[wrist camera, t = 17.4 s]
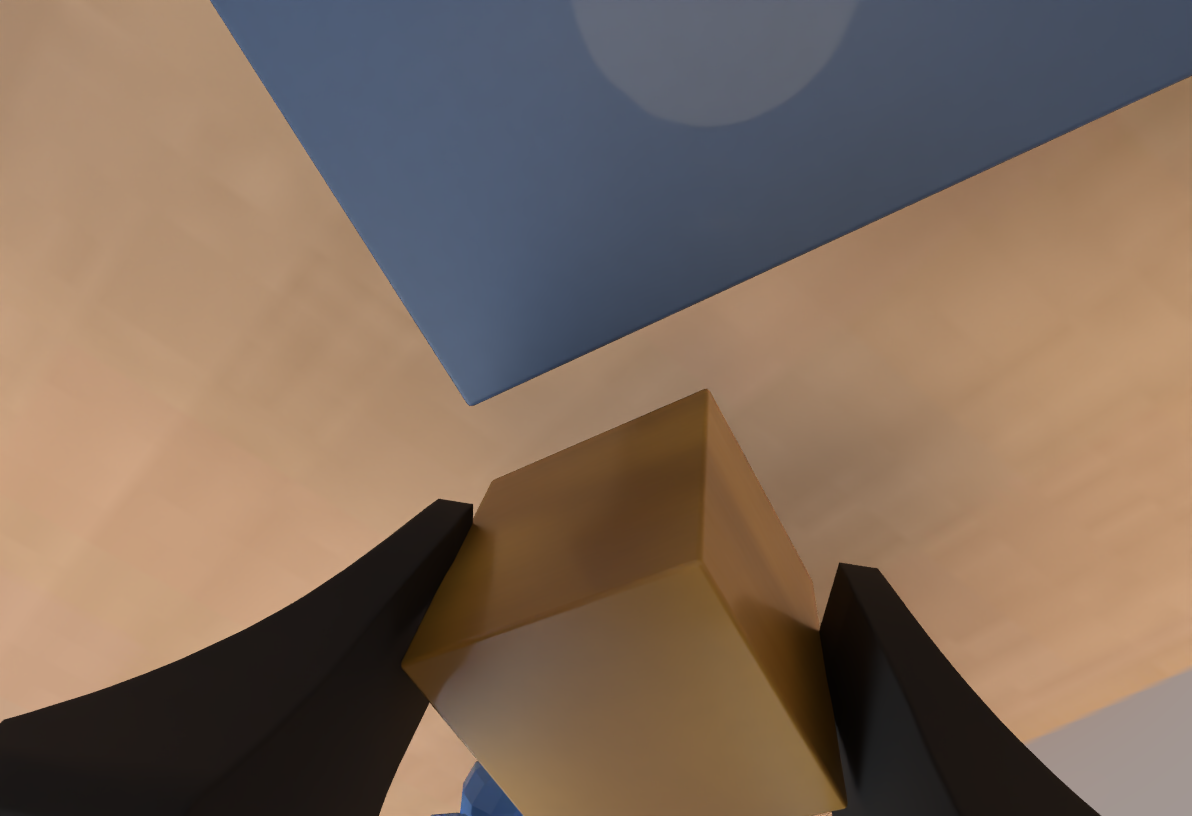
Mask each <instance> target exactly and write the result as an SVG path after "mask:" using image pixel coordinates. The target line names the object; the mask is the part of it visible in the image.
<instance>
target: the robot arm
mask: <svg viewBox="0 0 1192 816" xmlns="http://www.w3.org/2000/svg"><path fill="white" fill-rule="evenodd" d="M472 524H473V504H468V503H462V502H456V501H449V500H443V499H438V500H436V501H435V502H433V503H432V504H431V505H429V506H428V507H427V508H425V509H424V510H423V511H421V512H420V513H419V514H418V515H416V516H415V517H414V518H412V519H411V520H410V521H409V522H407V523H406V524H405V525H404V526H402V527H401V528H400V529H398V530H397V531H396V532H394V533H393V534H392V535H391V536H389V537H388V538H387V539H385V540H384V541H383V542H381V543H380V544H379V545H377V546H376V547H375V548H373V549H372V550H371V551H369V552H368V553H367V554H365V555H364V556H362V557H361V558H360V559H358V560H357V561H356V562H354V563H353V564H352V565H350V566H349V567H347V568H346V569H344V570H343V571H342V572H340V573H339V574H337V575H336V576H334V577H333V578H331V579H330V580H328V581H327V582H325V583H324V584H322V585H320V586H319V587H317V588H316V589H314V590H313V591H311V592H310V593H308V594H307V595H305V596H304V597H302V598H300V599H299V600H297V601H295V602H294V603H292V604H290V605H289V606H287V607H285V608H283V609H282V610H280V611H278V612H276V613H274V614H273V615H271V616H269V617H267V618H265V619H263V620H262V621H260V622H258V623H256V624H254V625H252V626H250V627H248V628H247V629H245V630H243V631H241V632H239V633H236V634H234V635H232V636H230V637H228V638H226V639H224V640H221V641H219V642H217V643H215V644H213V645H211V646H208V647H206V648H204V649H202V650H200V651H198V652H196V653H193V654H191V655H189V656H187V657H185V658H182V659H180V660H178V661H175V662H173V663H171V664H168V665H166V666H163V667H161V668H158V669H156V670H153V671H151V672H148V673H146V674H143V675H140V676H138V677H135V678H132V679H130V680H127V681H124V682H121V683H119V684H116V685H113V686H111V687H108V688H105V689H102V690H99V691H96V692H93V693H90V694H87V695H84V696H81V697H78V698H74V699H71V700H68V701H65V702H62V703H58V704H55V705H52V706H49V707H45V708H42V709H39V710H36V711H33V712H29V713H26V714H23V715H19V716H16V717H12V718H9V719H5V720H3V721H2V722H1V723H0V816H379V813H380V811H381V808H382V805H383V803H384V800H385V797H386V794H387V792H388V790H389V787H390V785H391V783H392V780H393V778H394V776H395V773H396V771H397V769H398V766H399V764H400V762H401V760H402V758H403V756H404V754H405V752H406V750H407V748H408V746H409V744H410V742H411V740H412V737H413V735H414V733H415V731H416V729H417V727H418V725H419V723H420V721H421V719H422V717H423V715H424V713H425V711H426V709H427V707H428V704H429V701H428V700H427V698H426V697H425V696H424V695H423V694H422V692H421V691H420V690H419V689H418V688H417V686H416V685H415V684H414V683H413V681H412V680H411V679H410V678H409V677H408V675H407V674H406V673H405V672H404V671H403V669H402V668H401V661H402V659H403V657H404V655H405V653H406V651H407V649H408V647H409V645H410V643H411V641H412V639H413V637H414V635H415V633H416V631H417V629H418V627H419V625H420V623H421V621H422V620H423V618H424V616H425V614H426V612H427V610H428V608H429V606H430V604H431V602H432V600H433V598H434V596H435V594H436V592H437V590H438V588H439V586H440V584H441V583H442V581H443V579H444V577H445V575H446V574H447V572H448V570H449V569H450V567H451V565H452V564H453V562H454V560H455V558H456V556H457V554H458V552H459V550H460V548H461V546H462V544H463V542H464V540H465V538H466V536H467V534H468V532H469V530H470V528H471V526H472ZM819 634H820V640H821V646H822V653H823V659H824V665H825V672H826V678H827V683H828V687H829V692H830V697H831V702H832V707H833V713H834V719H835V726H836V732H837V738H838V744H839V751H840V757H841V763H842V769H843V776H844V782H845V788H846V795H847V801H848V804H847V807H846V808H845V809H841V810H837V811H832V816H1100V815H1099V814H1098V813H1097V812H1096V811H1095V810H1094V809H1093V808H1091V807H1090V806H1089V805H1088V804H1087V803H1086V802H1084V801H1083V800H1082V799H1081V798H1080V797H1079V796H1078V795H1076V794H1075V793H1074V792H1073V791H1072V790H1071V789H1070V788H1069V787H1067V786H1066V785H1065V784H1064V783H1063V782H1062V781H1061V780H1060V779H1059V778H1058V777H1057V776H1056V775H1054V774H1053V773H1052V772H1051V771H1050V770H1049V769H1048V768H1047V767H1046V766H1045V765H1044V764H1043V763H1042V762H1041V761H1040V760H1039V759H1038V758H1037V757H1036V756H1035V755H1034V754H1033V753H1032V752H1031V751H1030V750H1029V749H1028V748H1027V747H1026V746H1025V745H1024V744H1023V743H1022V742H1021V741H1020V740H1019V739H1018V738H1017V737H1016V736H1015V735H1014V734H1013V733H1012V732H1011V731H1010V730H1009V729H1008V728H1007V727H1006V726H1005V725H1004V724H1003V723H1002V722H1001V721H1000V720H999V718H998V717H997V716H996V715H995V714H994V713H993V712H992V711H991V710H990V708H989V707H988V706H987V705H986V704H985V703H984V702H983V701H982V700H981V698H980V697H979V696H978V695H977V694H976V693H975V692H974V691H973V690H972V688H971V687H970V686H969V685H968V684H967V683H966V681H965V680H964V679H963V678H962V677H961V675H960V674H959V673H958V672H957V671H956V670H955V668H954V667H953V666H952V665H951V663H950V662H949V661H948V660H947V659H946V657H945V656H944V655H943V654H942V652H941V651H940V650H939V649H938V647H937V646H936V645H935V644H934V642H933V641H932V640H931V638H930V637H929V636H928V635H927V633H926V632H925V631H924V629H923V628H922V627H921V626H920V624H919V623H918V622H917V620H916V619H915V618H914V616H913V615H912V614H911V612H910V611H909V610H908V608H907V607H906V606H905V604H904V603H903V602H902V600H901V599H900V597H899V596H898V595H897V593H896V592H895V591H894V589H893V588H892V587H891V585H890V584H889V583H888V581H887V580H886V579H885V577H884V576H883V575H882V573H881V572H880V571H879V569H877V568H871V567H865V566H858V565H852V564H846V563H839V565H838V569H837V572H836V576H835V579H834V582H833V586H832V589H831V592H830V596H829V599H828V603H827V606H826V609H825V613H824V616H823V620H822V623H821V626H820V630H819Z"/></svg>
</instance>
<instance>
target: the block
mask: <svg viewBox="0 0 1192 816" xmlns="http://www.w3.org/2000/svg"><path fill="white" fill-rule="evenodd" d="M819 630H820V625H819V619H818V613H817V607H816V600H815V594H814V588H813V582H812V579H811V577H810V576H809V574H808V572H807V570H806V568H805V566H804V564H803V563H802V561H801V559H800V557H799V555H798V553H797V551H796V550H795V548H794V546H793V544H792V542H791V540H790V539H789V537H788V535H787V533H786V531H785V529H784V527H783V526H782V524H781V522H780V520H779V518H778V516H777V514H776V513H775V511H774V509H773V507H772V505H771V503H770V502H769V500H768V498H767V496H766V494H765V492H764V490H763V489H762V487H761V485H760V483H759V481H758V479H757V477H756V476H755V474H754V472H753V470H752V468H751V466H750V464H749V463H748V461H747V459H746V457H745V455H744V453H743V452H742V450H741V448H740V446H739V444H738V442H737V440H736V439H735V437H734V435H733V433H732V431H731V429H730V427H729V426H728V424H727V422H726V420H725V418H724V416H723V415H722V413H721V411H720V409H719V407H718V405H717V403H716V402H715V400H714V398H713V396H712V394H711V392H710V391H709V390H708V389H704V390H701V391H699V392H697V393H694V394H692V395H690V396H687V397H685V398H683V399H680V400H678V401H676V402H673V403H671V404H669V405H666V406H664V407H662V408H659V409H657V410H655V411H653V412H650V413H648V414H646V415H643V416H641V417H639V418H636V419H634V420H632V421H629V422H627V423H625V424H622V425H620V426H618V427H615V428H613V429H611V430H608V431H606V432H604V433H601V434H599V435H597V436H595V437H592V438H590V439H588V440H585V441H583V442H581V443H578V444H576V445H574V446H571V447H569V448H567V449H564V450H562V451H560V452H557V453H555V454H553V455H550V456H548V457H546V458H543V459H541V460H539V461H537V462H534V463H532V464H530V465H527V466H525V467H523V468H520V469H518V470H516V471H513V472H511V473H509V474H506V475H504V476H502V477H499V478H497V479H495V480H493V481H492V482H491V484H490V486H489V488H488V490H487V492H486V494H485V496H484V498H483V500H482V502H481V504H480V506H479V508H478V510H477V512H476V514H475V516H474V518H473V524H472V526H471V528H470V530H469V532H468V534H467V536H466V538H465V540H464V542H463V544H462V546H461V548H460V550H459V552H458V554H457V556H456V558H455V560H454V562H453V564H452V565H451V567H450V569H449V570H448V572H447V574H446V575H445V577H444V579H443V581H442V583H441V584H440V586H439V588H438V590H437V592H436V594H435V596H434V598H433V600H432V602H431V604H430V606H429V608H428V610H427V612H426V614H425V616H424V618H423V620H422V621H421V623H420V625H419V627H418V629H417V631H416V633H415V635H414V637H413V639H412V641H411V643H410V645H409V647H408V649H407V651H406V653H405V655H404V657H403V659H402V661H401V668H402V669H403V671H404V672H405V673H406V674H407V675H408V677H409V678H410V679H411V680H412V681H413V683H414V684H415V685H416V686H417V688H418V689H419V690H420V691H421V692H422V694H423V695H424V696H425V697H426V698H427V700H428V701H429V702H430V703H431V704H432V706H433V707H434V708H435V709H436V711H437V712H438V713H439V714H440V715H441V717H442V718H443V719H444V720H445V721H446V723H447V724H448V725H449V726H450V727H451V729H452V730H453V731H454V732H455V734H456V735H457V736H458V737H459V738H460V740H461V741H462V742H463V743H464V744H465V746H466V747H467V748H468V749H469V751H470V752H471V753H472V754H473V755H474V757H475V758H476V759H477V760H478V761H479V763H480V764H481V765H482V766H483V767H484V769H485V770H486V771H487V772H488V774H489V775H490V776H491V777H492V778H493V780H494V781H495V782H496V783H497V784H498V786H499V787H500V788H501V789H502V790H503V792H504V793H505V794H506V795H507V797H508V798H509V799H510V800H511V801H512V803H513V804H514V805H515V806H516V807H517V809H518V810H519V811H520V812H521V813H522V815H523V816H813V815H818V814H822V813H827V812H832V811H837V810H841V809H845V808H846V807H847V804H848V801H847V795H846V788H845V782H844V776H843V769H842V763H841V757H840V751H839V744H838V738H837V732H836V726H835V719H834V713H833V707H832V702H831V697H830V692H829V687H828V683H827V678H826V672H825V665H824V659H823V653H822V646H821V640H820V634H819Z"/></svg>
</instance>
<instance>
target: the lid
mask: <svg viewBox="0 0 1192 816" xmlns="http://www.w3.org/2000/svg"><path fill="white" fill-rule="evenodd" d="M210 1H211V3H212V4H213V6H214V7H215V9H216V10H217V12H218V14H219V15H220V17H221V18H222V20H223V21H224V23H225V25H226V26H227V28H228V29H229V31H230V32H231V34H232V36H233V37H234V39H235V40H236V42H237V43H238V45H239V47H240V48H241V50H242V51H243V53H244V54H245V56H246V58H247V59H248V61H249V62H250V64H251V65H252V67H253V69H254V70H255V72H256V73H257V75H258V76H259V78H260V80H261V81H262V83H263V84H264V86H265V87H266V89H267V91H268V92H269V94H270V95H271V97H272V98H273V100H274V102H275V103H276V105H277V106H278V108H279V109H280V111H281V112H282V114H283V116H284V117H285V119H286V120H287V122H288V123H289V125H290V127H291V128H292V130H293V131H294V133H295V134H296V136H297V138H298V139H299V141H300V142H301V144H302V145H303V147H304V149H305V150H306V152H307V153H308V155H309V156H310V158H311V160H312V161H313V163H314V164H315V166H316V167H317V169H318V171H319V172H320V174H321V175H322V177H323V178H324V180H325V182H326V183H327V185H328V186H329V188H330V189H331V191H332V193H333V194H334V196H335V197H336V199H337V200H338V202H339V203H340V205H341V207H342V208H343V210H344V211H345V213H346V214H347V216H348V218H349V219H350V221H351V222H352V224H353V225H354V227H355V229H356V230H357V232H358V233H359V235H360V236H361V238H362V240H363V241H364V243H365V244H366V246H367V247H368V249H369V251H370V252H371V254H372V255H373V257H374V258H375V260H376V262H377V263H378V265H379V266H380V268H381V269H382V271H383V273H384V274H385V276H386V277H387V279H388V280H389V282H390V284H391V285H392V287H393V288H394V290H395V291H396V293H397V295H398V296H399V298H400V299H401V301H402V302H403V304H404V305H405V307H406V309H407V310H408V312H409V313H410V315H411V316H412V318H413V320H414V321H415V323H416V324H417V326H418V327H419V329H420V331H421V332H422V334H423V335H424V337H425V338H426V340H427V342H428V343H429V345H430V346H431V348H432V349H433V351H434V353H435V354H436V356H437V357H438V359H439V360H440V362H441V364H442V365H443V367H444V368H445V370H446V371H447V373H448V375H449V376H450V378H451V379H452V381H453V382H454V384H455V386H456V387H457V389H458V390H459V392H460V393H461V395H462V396H463V398H464V400H465V401H466V403H467V404H468V405H469V406H474V405H476V404H479V403H481V402H483V401H485V400H487V399H489V398H492V397H494V396H496V395H498V394H500V393H502V392H505V391H507V390H509V389H511V388H513V387H516V386H518V385H520V384H522V383H524V382H526V381H529V380H531V379H533V378H535V377H537V376H539V375H542V374H544V373H546V372H548V371H550V370H553V369H555V368H557V367H559V366H561V365H563V364H566V363H568V362H570V361H572V360H574V359H576V358H579V357H581V356H583V355H585V354H587V353H590V352H592V351H594V350H596V349H598V348H600V347H603V346H605V345H607V344H609V343H611V342H613V341H616V340H618V339H620V338H622V337H624V336H626V335H629V334H631V333H633V332H635V331H637V330H640V329H642V328H644V327H646V326H648V325H650V324H653V323H655V322H657V321H659V320H661V319H663V318H666V317H668V316H670V315H672V314H674V313H677V312H679V311H681V310H683V309H685V308H687V307H690V306H692V305H694V304H696V303H698V302H700V301H703V300H705V299H707V298H709V297H711V296H714V295H716V294H718V293H720V292H722V291H724V290H727V289H729V288H731V287H733V286H735V285H737V284H740V283H742V282H744V281H746V280H748V279H751V278H753V277H755V276H757V275H759V274H761V273H764V272H766V271H768V270H770V269H772V268H774V267H777V266H779V265H781V264H783V263H785V262H788V261H790V260H792V259H794V258H796V257H798V256H801V255H803V254H805V253H807V252H809V251H811V250H814V249H816V248H818V247H820V246H822V245H825V244H827V243H829V242H831V241H833V240H835V239H838V238H840V237H842V236H844V235H846V234H848V233H851V232H853V231H855V230H857V229H859V228H861V227H864V226H866V225H868V224H870V223H872V222H875V221H877V220H879V219H881V218H883V217H885V216H888V215H890V214H892V213H894V212H896V211H898V210H901V209H903V208H905V207H907V206H909V205H912V204H914V203H916V202H918V201H920V200H922V199H925V198H927V197H929V196H931V195H933V194H935V193H938V192H940V191H942V190H944V189H946V188H949V187H951V186H953V185H955V184H957V183H959V182H962V181H964V180H966V179H968V178H970V177H972V176H975V175H977V174H979V173H981V172H983V171H986V170H988V169H990V168H992V167H994V166H996V165H999V164H1001V163H1003V162H1005V161H1007V160H1009V159H1012V158H1014V157H1016V156H1018V155H1020V154H1023V153H1025V152H1027V151H1029V150H1031V149H1033V148H1036V147H1038V146H1040V145H1042V144H1044V143H1046V142H1049V141H1051V140H1053V139H1055V138H1057V137H1059V136H1062V135H1064V134H1066V133H1068V132H1070V131H1073V130H1075V129H1077V128H1079V127H1081V126H1083V125H1086V124H1088V123H1090V122H1092V121H1094V120H1096V119H1099V118H1101V117H1103V116H1105V115H1107V114H1110V113H1112V112H1114V111H1116V110H1118V109H1120V108H1123V107H1125V106H1127V105H1129V104H1131V103H1133V102H1136V101H1138V100H1140V99H1142V98H1144V97H1147V96H1149V95H1151V94H1153V93H1155V92H1157V91H1160V90H1162V89H1164V88H1166V87H1168V86H1170V85H1173V84H1175V83H1177V82H1179V81H1181V80H1184V79H1186V78H1188V77H1190V76H1192V0H210Z"/></svg>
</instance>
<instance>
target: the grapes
mask: <svg viewBox="0 0 1192 816" xmlns="http://www.w3.org/2000/svg"><path fill="white" fill-rule="evenodd" d="M431 816H523V815H522V813H521V812H520V811H519V810H518V809H517V807H516V806H515V805H514V804H513V803H512V801H511V800H510V799H509V798H508V797H507V795H506V794H505V793H504V792H503V790H502V789H501V788H500V787H499V786H498V784H497V783H496V782H495V781H494V780H493V778H492V777H491V776H490V775H489V774H488V772H487V771H486V770H485V769H484V767H483V766H482V765H481V764H480V763H479V761H477V762H475V764H474V766H473V767H472V769H471V771H470V772H469V774H468V776H467V778H466V779H465V781H464V783H463V791H462V801H461V811H460V813H449V814H435V815H431Z"/></svg>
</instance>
